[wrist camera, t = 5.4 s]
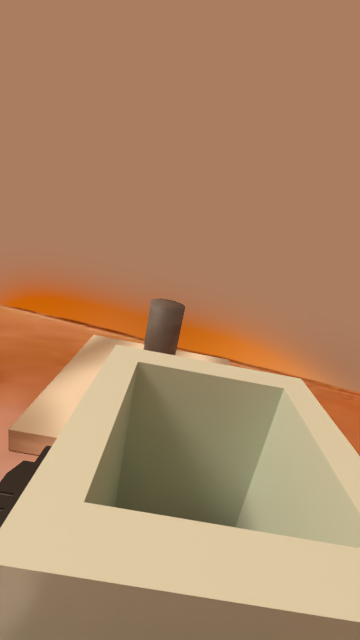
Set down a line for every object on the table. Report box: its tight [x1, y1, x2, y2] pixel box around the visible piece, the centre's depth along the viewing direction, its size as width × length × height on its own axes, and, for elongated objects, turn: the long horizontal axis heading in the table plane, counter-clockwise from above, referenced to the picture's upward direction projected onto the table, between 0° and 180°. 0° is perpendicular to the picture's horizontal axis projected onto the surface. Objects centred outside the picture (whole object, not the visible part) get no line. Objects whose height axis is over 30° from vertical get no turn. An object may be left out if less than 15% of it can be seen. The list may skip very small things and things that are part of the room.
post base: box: [9, 299, 231, 455], centre depth 22 cm, size 15×15×8 cm
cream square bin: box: [0, 345, 360, 640], centre depth 8 cm, size 6×6×10 cm
